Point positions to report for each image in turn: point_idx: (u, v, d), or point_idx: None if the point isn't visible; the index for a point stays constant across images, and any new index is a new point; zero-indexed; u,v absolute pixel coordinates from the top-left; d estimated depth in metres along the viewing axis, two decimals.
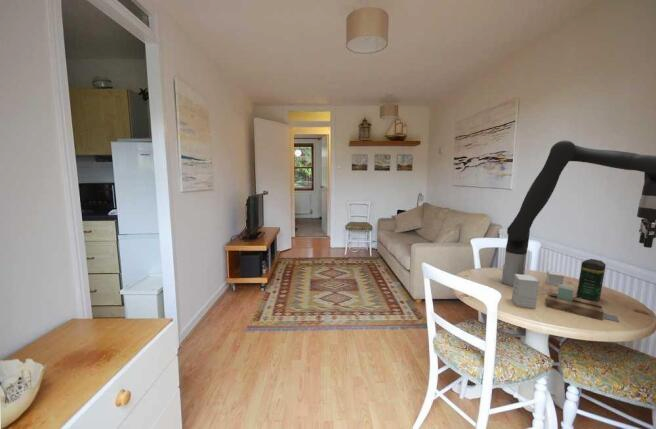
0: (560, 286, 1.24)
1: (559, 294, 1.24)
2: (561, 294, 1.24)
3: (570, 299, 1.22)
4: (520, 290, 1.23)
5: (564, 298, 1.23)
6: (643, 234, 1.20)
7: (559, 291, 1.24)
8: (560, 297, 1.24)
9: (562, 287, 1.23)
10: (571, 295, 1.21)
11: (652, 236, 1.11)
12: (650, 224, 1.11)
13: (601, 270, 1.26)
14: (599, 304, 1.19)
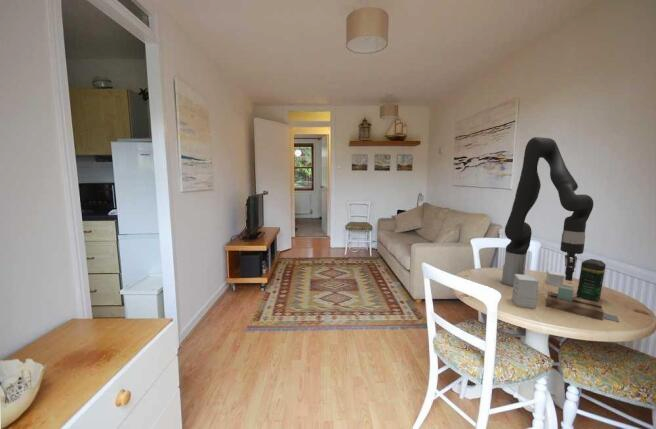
0: (560, 286, 1.24)
1: (559, 294, 1.24)
2: (561, 294, 1.24)
3: (570, 299, 1.22)
4: (520, 290, 1.23)
5: (564, 298, 1.23)
6: (568, 266, 1.25)
7: (559, 291, 1.24)
8: (560, 297, 1.24)
9: (562, 287, 1.23)
10: (571, 295, 1.21)
11: (571, 270, 1.16)
12: (569, 259, 1.16)
13: (601, 270, 1.26)
14: (599, 304, 1.19)
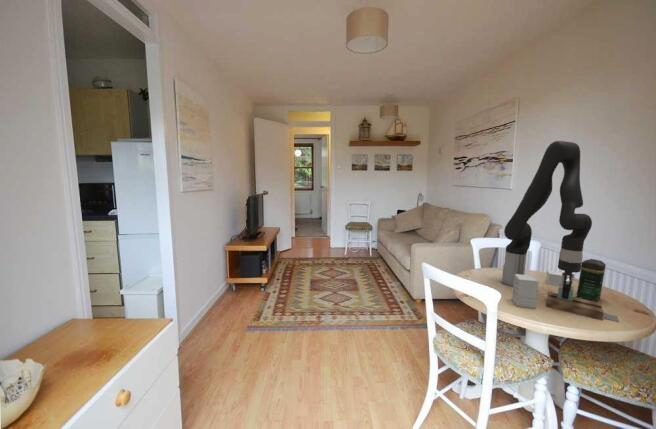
0: (560, 286, 1.23)
1: (559, 294, 1.24)
2: (561, 294, 1.24)
3: (570, 299, 1.22)
4: (520, 290, 1.23)
5: None
6: None
7: (559, 291, 1.24)
8: (560, 297, 1.24)
9: (562, 287, 1.23)
10: (571, 295, 1.21)
11: (567, 289, 1.20)
12: (565, 282, 1.18)
13: (601, 270, 1.26)
14: (599, 304, 1.19)
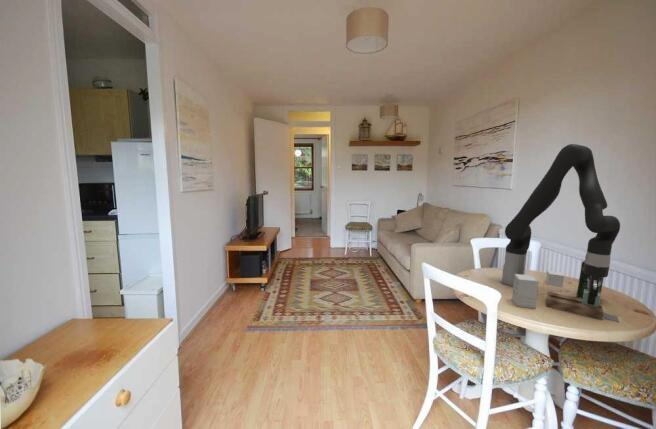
0: (585, 291, 1.18)
1: (585, 299, 1.19)
2: (587, 300, 1.18)
3: (596, 305, 1.17)
4: (520, 290, 1.23)
5: (590, 304, 1.18)
6: None
7: (584, 296, 1.19)
8: (586, 303, 1.19)
9: (588, 292, 1.18)
10: (597, 301, 1.16)
11: (594, 295, 1.14)
12: (592, 287, 1.13)
13: None
14: (599, 304, 1.19)
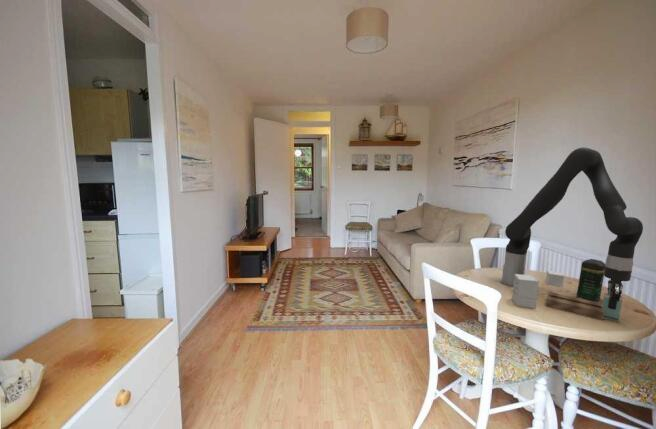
0: (606, 295, 1.14)
1: (605, 304, 1.15)
2: (607, 304, 1.14)
3: (618, 310, 1.13)
4: (520, 290, 1.23)
5: None
6: None
7: (605, 301, 1.15)
8: (607, 307, 1.15)
9: None
10: (619, 305, 1.12)
11: (615, 299, 1.11)
12: (614, 291, 1.09)
13: (601, 270, 1.26)
14: (599, 304, 1.19)
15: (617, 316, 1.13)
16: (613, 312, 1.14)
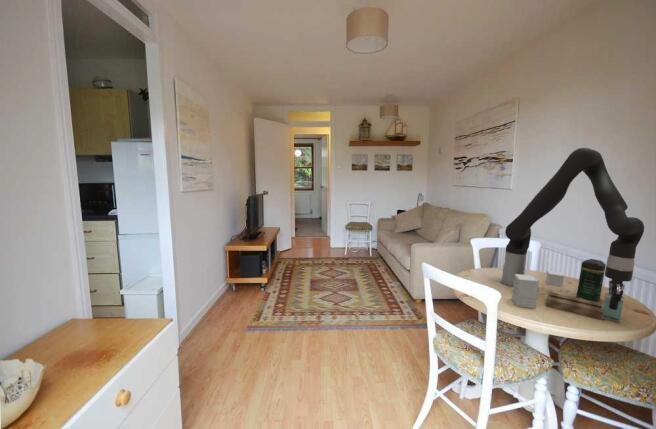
0: (607, 296, 1.14)
1: (606, 304, 1.15)
2: None
3: (619, 310, 1.12)
4: (520, 290, 1.23)
5: (612, 309, 1.14)
6: None
7: (606, 301, 1.14)
8: (608, 308, 1.14)
9: (610, 297, 1.14)
10: (620, 306, 1.12)
11: (617, 299, 1.10)
12: (615, 292, 1.09)
13: (601, 270, 1.26)
14: (599, 304, 1.19)
15: (618, 316, 1.13)
16: (614, 312, 1.13)
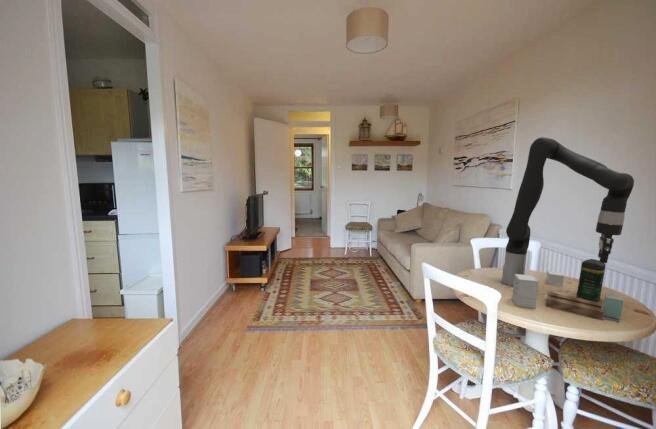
0: (607, 296, 1.14)
1: (606, 304, 1.15)
2: (609, 305, 1.14)
3: (619, 310, 1.12)
4: (520, 290, 1.23)
5: (612, 309, 1.14)
6: None
7: (606, 301, 1.14)
8: (608, 308, 1.14)
9: (610, 297, 1.14)
10: (620, 306, 1.12)
11: (607, 252, 1.11)
12: (605, 240, 1.11)
13: (601, 270, 1.26)
14: (599, 304, 1.19)
15: (618, 316, 1.13)
16: (614, 312, 1.13)
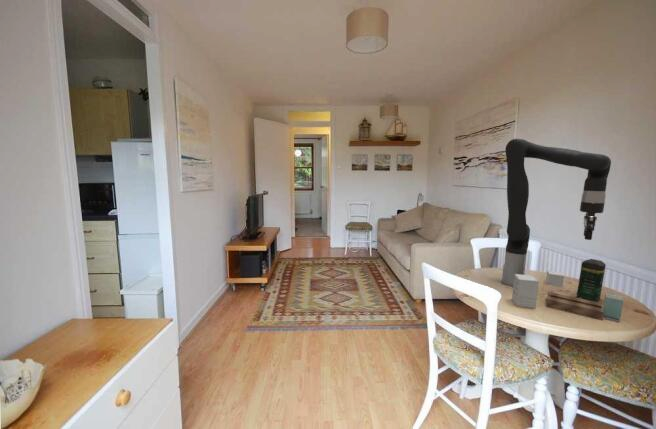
0: (607, 296, 1.14)
1: (606, 304, 1.15)
2: (609, 305, 1.14)
3: (619, 310, 1.12)
4: (520, 290, 1.23)
5: (612, 309, 1.14)
6: None
7: (606, 301, 1.14)
8: (608, 308, 1.14)
9: (610, 297, 1.14)
10: (620, 306, 1.12)
11: (591, 229, 1.18)
12: (589, 217, 1.18)
13: (601, 270, 1.26)
14: (599, 304, 1.19)
15: (618, 316, 1.13)
16: (614, 312, 1.13)
